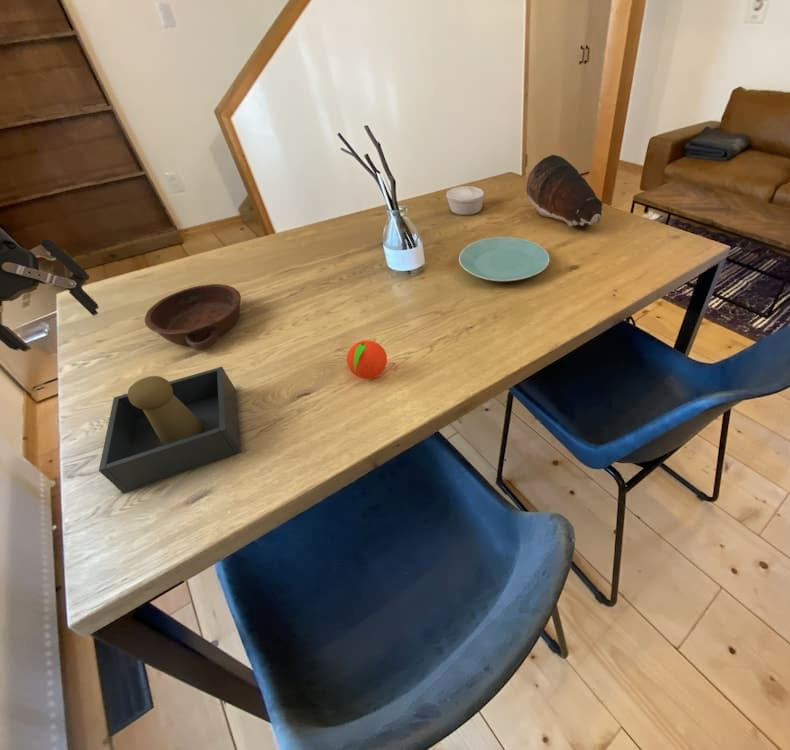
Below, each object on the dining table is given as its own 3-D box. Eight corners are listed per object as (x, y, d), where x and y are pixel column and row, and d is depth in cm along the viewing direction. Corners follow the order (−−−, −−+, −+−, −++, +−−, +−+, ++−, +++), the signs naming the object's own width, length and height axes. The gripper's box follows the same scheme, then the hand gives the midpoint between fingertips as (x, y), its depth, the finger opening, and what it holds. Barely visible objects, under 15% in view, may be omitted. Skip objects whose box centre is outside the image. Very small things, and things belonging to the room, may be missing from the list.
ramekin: (491, 209, 135) (491, 191, 131) (466, 220, 129) (465, 202, 125) (466, 200, 140) (465, 183, 137) (440, 210, 134) (438, 193, 131)
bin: (123, 493, 62) (98, 470, 58) (133, 420, 72) (113, 397, 69) (241, 452, 67) (225, 429, 63) (235, 389, 77) (222, 366, 74)
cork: (191, 448, 67) (151, 399, 60) (153, 448, 67) (108, 399, 60) (211, 419, 72) (176, 369, 64) (175, 419, 72) (136, 369, 64)
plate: (539, 243, 117) (540, 233, 115) (557, 286, 101) (558, 275, 99) (457, 249, 115) (456, 239, 114) (462, 294, 99) (461, 283, 97)
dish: (239, 290, 102) (230, 270, 99) (259, 337, 89) (249, 317, 85) (154, 314, 95) (140, 295, 92) (161, 370, 82) (146, 349, 78)
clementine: (380, 393, 76) (371, 362, 71) (343, 389, 77) (331, 358, 72) (395, 363, 82) (388, 333, 77) (361, 359, 83) (351, 329, 78)
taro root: (584, 199, 108) (531, 153, 121) (565, 252, 120) (519, 205, 132) (627, 195, 115) (572, 152, 128) (605, 245, 126) (557, 201, 139)
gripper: (-147, 245, 48) (-8, 362, 53) (4, 189, 54) (113, 298, 60) (-109, 260, 54) (12, 364, 59) (22, 208, 60) (119, 306, 66)
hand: (62, 331), depth 60 cm, fingers open, 8 cm apart
